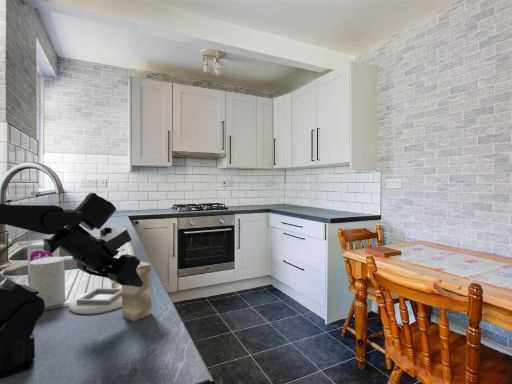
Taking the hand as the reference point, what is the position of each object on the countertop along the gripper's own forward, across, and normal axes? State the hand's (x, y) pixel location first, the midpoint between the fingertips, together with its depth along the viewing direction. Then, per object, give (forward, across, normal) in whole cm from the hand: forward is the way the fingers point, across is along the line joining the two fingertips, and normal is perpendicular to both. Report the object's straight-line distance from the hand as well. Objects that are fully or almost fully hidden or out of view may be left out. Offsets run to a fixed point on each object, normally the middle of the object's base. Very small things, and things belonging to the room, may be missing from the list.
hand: (130, 281), depth 73 cm
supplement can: (+4, +41, +10) cm, 42 cm away
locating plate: (+7, +16, +6) cm, 18 cm away
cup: (+1, +29, +12) cm, 31 cm away
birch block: (+8, 0, +5) cm, 9 cm away
